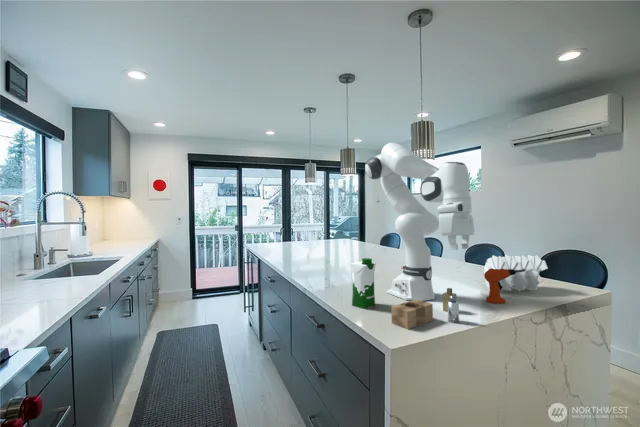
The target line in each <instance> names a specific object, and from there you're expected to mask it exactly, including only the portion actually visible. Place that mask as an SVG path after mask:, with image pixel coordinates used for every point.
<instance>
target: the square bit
mask: <svg viewBox="0 0 640 427" xmlns="http://www.w3.org/2000/svg"><path fill="white" fill-rule="evenodd" d="M450 296H456V297H457V293H454V292H453V288H451V287H447V288H446V292H443V293H442V311H443V312H446V313H448V301H450ZM456 301H457V302H458V300H457V299H456Z"/></svg>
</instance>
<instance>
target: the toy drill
mask: <svg viewBox="0 0 640 427" xmlns="http://www.w3.org/2000/svg"><path fill="white" fill-rule="evenodd" d="M523 271H525V269H522V270H513V269H508V270H507V269H502V268H501V269H492V268H491V269H489V270H488V271H486V272H485V274H484V275H483V279H484V278H485V279H486V280H487V281H488V282H489V287H490V288H489V293H488V296H486V298H485V301H486V303H488V304H499V305H500V304H505V303H506V302H507V301H506V299H505V298H504V297H502V296H501V290H503V289H502V288H503V287H502V286H501V284H500V282H499V281H501V280H503V279H505V278H507V277H509V276H511V275H515V274H516V273H518V272H523Z"/></svg>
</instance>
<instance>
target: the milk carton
mask: <svg viewBox="0 0 640 427" xmlns="http://www.w3.org/2000/svg"><path fill="white" fill-rule="evenodd" d="M372 261H373V259H372V258H370V257H368V258H367V257H365V258H362V259H361V261H356V262H352V263H350V267H351V274H352V277H351V278H352V280H351V281H352V296H351V297H352V299H351V300H352V301H351V306H353V307H356V308H359V309H363V310H366V309H369V308H371V307H375V306H376V300H375V299H376V298H375V296H376V295H375V271H376V269H375V268H376V262H372Z"/></svg>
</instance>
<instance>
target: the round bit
mask: <svg viewBox="0 0 640 427" xmlns="http://www.w3.org/2000/svg"><path fill="white" fill-rule="evenodd" d="M456 300H457V295H456V296H450V301H448V312H447V321H448V322H449V323H451V324H460V302H459V301H458V300H457V301H456Z"/></svg>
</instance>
